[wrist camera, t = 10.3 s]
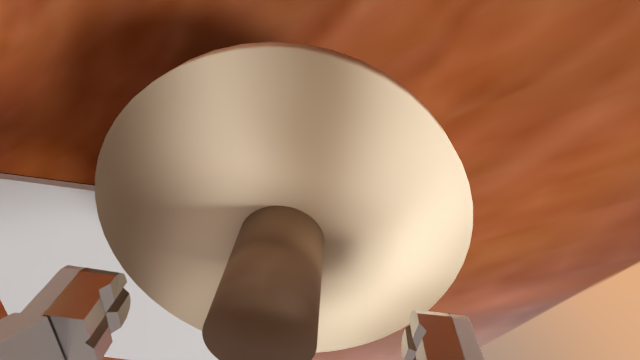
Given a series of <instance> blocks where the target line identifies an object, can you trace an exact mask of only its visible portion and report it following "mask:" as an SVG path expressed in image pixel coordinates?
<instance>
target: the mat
mask: <svg viewBox="0 0 640 360" xmlns="http://www.w3.org/2000/svg"><path fill="white" fill-rule="evenodd" d="M67 265H71V266H78V267H85V268H93V269H99V270H105V271H112V272H118V273H123V274H125V277H126V280H127V283H126V284H125V286H124V287H123V288H124V289H125V290H127V291H128V292H129V294H130V299H131V302H130V309H129V312H128V315H127V318H126V320H125V322H124V323H123V325H122V327H121V328H119V329H118V330H116V331H115V332H113V333H112V334H111V335H112V341H113V342H112V343H111V345H110V347H109V348H108V350H107V352H106V353H105V355H104V357H112V358H120V359H128V360H219V359H217V358H216V357H215V356H214V355H213V354H212V353H211V352H210V351H209V350H208V348H207V347H206V345H205V343H204V340H203V336H202V331H201V330H199V329H197V328H195V327H193V326H191V325H189V324H187V323H185V322H183V321H182V320H180V319H179V318H177V317H176V316H174V315H172V314H171V313H169V312H168V311H166V310H165V309H164V308H162V307H161V306H160V305H159V304H157V303H156V302H155V301H153V300H152V299H151V298H150V297H149V296H148V295H147V294H146V293H145V292H144V291H143V290H142V289H140V288H139V287H138V286H137V285H136V283H135V282H134V281H133V280H132V279H131V278H130V276H129V275H128V274H127V273H126V272H125V270H124V269H123V268H122V266H121V265H120V263H119V261H118V260H117V258H116V257H115V255H114V254H113V252H112V250H111V248H110V246H109V244H108V242H107V240H106V238H105V236H104V233H103V230H102V227H101V224H100V221H99V218H98V212H97V206H96V200H95V186H94V185H87V184H79V183H71V182H64V181H56V180H49V179H41V178H34V177H26V176H18V175H11V174H3V173H0V299H1V302H2V304H3V306H4V308H5V310H6V312H7V314H8V315H10V314H12V313H14V312H16V313H21V312H22V310H23V309H24V308H25V307H26V306H27V305H28V304H29V303H30V302H31V301H32V300H33V298H34V297H35V296H36V295H37V294H38V293H39V292H40V291H41V290H42V289H43V288H44V287H45V285H46V284H47V283H48V282H49V281H50V280H51V279H52V278H53V277H54V276H55V275H56V273H57V272H58V271H59V270H60V269H61V268H63V267H65V266H67Z"/></svg>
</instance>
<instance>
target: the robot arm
mask: <svg viewBox="0 0 640 360" xmlns="http://www.w3.org/2000/svg"><path fill="white" fill-rule="evenodd" d="M126 283H127V280H126V277H125V274H123V273H118V272H112V271H105V270H99V269H93V268H85V267H78V266H71V265H67V266H65V267H63V268H61V269H60V270H59V271H58V272H57V273H56V275H55V276H54V277H53V278H52V279H51V280H50V281H49V282H48V283H47V284H46V285H45V287H44V288H43V289H42V290H41V291H40V292H39V293H38V294H37V295H36V296H35V297H34V298H33V300H32V301H31V302H30V303H29V304H28V305H27V306H26V307H25V308H24V309H23V310H22V312H21V313H16V312H14V313H12V314H10V315H8V316H6V317H4V318H2V319H0V360H102V358H103V357H104V355H105V353H106V352H107V350H108V348H109V347H110V345H111V343H112V342H113V341H112V335H111V334H112V333H113V332H115V331H116V330H118V329H119V328H121V327H122V325H123V323H124V322H125V320H126V318H127V315H128V312H129V309H130V302H131V299H130V294H129V292H128V291H127V290H125V289H124V288H123V287H124V286H125V284H126ZM409 321H410V326H408V327H406V328H405V330H404V333H403V337H402V345H401V347H402V359H403V360H484V357H483V355H482V352H481V349H480V346H479V343H478V341H477V338H476V335H475V332H474V329H473V327H472V324H471V321H470V319H469V318H468V317H467V316H461V315H453V314H447V313H439V312H430V311H421V310H413V311H412V312H411V314H410V317H409Z"/></svg>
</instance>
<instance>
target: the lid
mask: <svg viewBox="0 0 640 360" xmlns="http://www.w3.org/2000/svg"><path fill="white" fill-rule="evenodd" d="M95 200H96V206H97V212H98V218H99V221H100V224H101V227H102V230H103V233H104V236H105V238H106V240H107V242H108V244H109V246H110V248H111V250H112V252H113V254H114V255H115V257H116V258H117V260H118V261H119V263H120V265H121V266H122V268H123V269H124V270H125V272H126V273H127V274H128V275H129V276H130V278H131V279H132V280H133V281H134V282H135V283H136V285H137V286H138V287H139V288H140V289H142V290H143V291H144V292H145V293H146V294H147V295H148V296H149V297H150V298H151V299H152V300H153V301H155V302H156V303H157V304H159V305H160V306H161V307H162V308H164V309H165V310H166V311H168V312H169V313H171V314H172V315H174V316H176V317H177V318H179V319H180V320H182V321H183V322H185V323H187V324H189V325H191V326H193V327H195V328H197V329H199V330H201V331H202V336H203V340H204V343H205V345H206V347H207V348H208V350H209V351H210V352H211V353H212V354H213V355H214V356H215V357H216V358H217V359H219V360H311V359H312V358H313V357H314V355H315V353H316V352H328V351H335V350H341V349H347V348H351V347H355V346H359V345H363V344H367V343H369V342H372V341H375V340H378V339H380V338H383V337H385V336H388V335H390V334H392V333H394V332H396V331H398V330H400V329H402V328H403V327H405V326H407V325H408V324H410V321H409V317H410V314H411V312H412V311H413V310H421V311H428V310H429V309H430V308H431V307H432V306H433V305H434V304H435V303H436V302H437V301H438V300H439V299H440V298H441V297H442V296H443V295H444V293H445V292H446V291H447V289H448V288H449V287H450V285H451V284H452V283H453V281H454V280H455V278H456V276H457V274H458V272H459V271H460V269H461V267H462V265H463V263H464V260H465V257H466V254H467V251H468V248H469V246H470V240H471V234H472V228H473V203H472V197H471V192H470V186H469V182H468V179H467V176H466V173H465V171H464V168H463V165H462V162H461V160H460V158H459V157H458V155H457V153H456V151H455V149H454V148H453V146H452V144H451V142H450V140H449V139H448V137H447V135H446V134H445V132H444V130H443V128H442V127H441V125H440V124H439V123H438V121H437V120H436V119H435V118H434V116H433V115H432V114H431V112H430V111H429V110H428V109H427V107H426V106H425V105H424V104H423V103H422V102H420V101H419V100H418V99H417V98H416V97H415V96H414V95H413V94H412V93H411V92H410V91H409V90H408V89H407V88H405V87H404V86H402V85H401V84H400V83H398V82H397V81H395V80H394V79H393V78H391V77H390V76H388V75H387V74H385V73H384V72H382V71H380V70H378V69H376V68H374V67H372V66H370V65H368V64H366V63H364V62H363V61H361V60H359V59H356V58H353V57H350V56H347V55H345V54H342V53H339V52H336V51H333V50H330V49H325V48H320V47H315V46H310V45H306V44H300V43H284V42H260V43H247V44H239V45H235V46H230V47H226V48H221V49H217V50H213V51H211V52H208V53H205V54H203V55H200V56H198V57H195V58H192V59H190V60H188V61H186V62H185V63H183V64H181V65H179V66H178V67H176V68H174V69H172V70H171V71H169V72H167V73H166V74H164V75H163V76H161V77H159V78H158V79H156V80H155V81H153V82H152V83H151V84H149V85H148V86H147V87H146V88H145V89H143V90H142V91H141V92H140V93H139V94H137V95H136V96H135V97H134V98H133V99H132V100H131V101H130V102H129V103H128V104H127V106H126V107H125V108H124V109H123V110H122V111H121V113H120V114H119V115H118V116H117V118H116V119H115V121H114V123H113V124H112V126H111V128H110V130H109V131H108V133H107V135H106V137H105V139H104V142H103V145H102V148H101V150H100V153H99V156H98V161H97V167H96V173H95Z"/></svg>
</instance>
